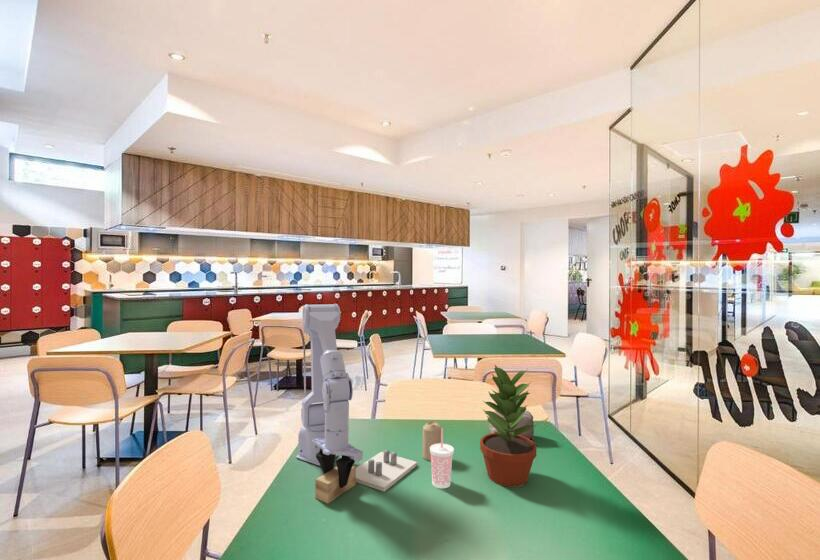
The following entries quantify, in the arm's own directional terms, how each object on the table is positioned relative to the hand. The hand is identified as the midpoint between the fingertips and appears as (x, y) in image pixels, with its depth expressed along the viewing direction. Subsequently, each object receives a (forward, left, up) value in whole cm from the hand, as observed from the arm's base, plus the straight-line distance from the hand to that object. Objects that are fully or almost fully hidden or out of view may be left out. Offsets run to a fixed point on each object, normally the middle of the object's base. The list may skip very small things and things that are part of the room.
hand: (336, 483), depth 97 cm
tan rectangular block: (0, 0, -2) cm, 2 cm away
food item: (+26, +56, -2) cm, 62 cm away
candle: (+11, +29, -2) cm, 31 cm away
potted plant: (+33, +30, -2) cm, 45 cm away
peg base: (+4, +14, -2) cm, 15 cm away
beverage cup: (+20, +17, -2) cm, 26 cm away
